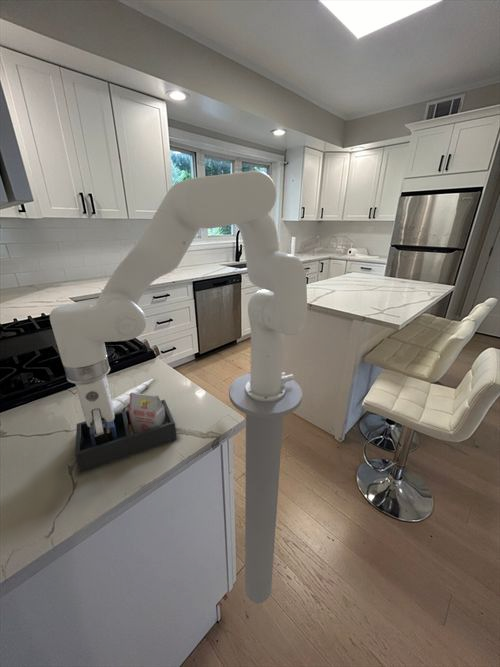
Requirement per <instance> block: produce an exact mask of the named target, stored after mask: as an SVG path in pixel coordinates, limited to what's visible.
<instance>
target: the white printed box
mask: <svg viewBox="0 0 500 667" xmlns="http://www.w3.org/2000/svg"><path fill="white" fill-rule="evenodd" d="M128 409H129V417H130V422H131V428H132V433H138V432H141V431H144V430H148V429H151V428H154V427H157V426H160V425H163V424H166V417H165V409H164V405H163V404H162V402H161V399H160V397H159V395H153V394H145V393H140V394H139V393H132V392H131V393H130V404H129V405H128Z"/></svg>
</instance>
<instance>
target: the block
mask: <svg viewBox="0 0 500 667" xmlns="http://www.w3.org/2000/svg"><path fill="white" fill-rule="evenodd" d="M102 419H104V418H102ZM108 425H109V429H110V430H111V431H112V435H113V440H116V439H117V434H116V428H115V424H114V420H113V421H111V422H108ZM103 427H105V428H106V426H105V423H104V424H103ZM90 436H91V440H92V444H93V447H94V446H97V445H96V442H95V438H94V431H93V426H92V427H90Z"/></svg>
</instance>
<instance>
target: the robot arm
mask: <svg viewBox="0 0 500 667" xmlns="http://www.w3.org/2000/svg"><path fill="white" fill-rule="evenodd" d="M276 201H277V186H276V183H274V180H273V179H272V178H271V176H270V175H269V174H267V173H266V172H264V171H262V170H257V169H253V170H246V171H239V172H233V173H226V174H225V173H224V174H214V175H204V176H203V175H202V176H196V177H192V178H188V179H184V180H180V181H178V182H176V183H175V184H174V185H172V186H171V187H170V189H169V190H168V191H167V193H166V194H165V196H164V198H163V199H162V201H161V203H160V204H159V206H158V208H157V209H156V211H155V213H154V214H153V216H152V218H151V220H150V221H149V223H148V225H147V226H146V228H145V230H144V231H143V232H142V234H141V236H140V238H139V239H138V241H137V243H135V245H134V247H132V248H131V249H130V251H129V252H128V254H126V256H125V257H124V259H123V260H121V262H120V263H119V265H118V266H117V267H116V268H115V270H114V271H113V273H112V274H111V276H110V277H109V279H108V280H107V282H106V284H105V286H104V287H103V289H102V291H101V292H100V295H99V296H98V298H97V300H96V303H95V306H94V305H93V304H91V303H88V302H87V303H86V302H73V303H72V302H71V303H66V304H62V305H59V306H57V307H55V308H53V309H52V310H51V311H50V313H49V321H50V325H51V328H52V332H53V336H54V339H55V344H56V346H57V350H58V353H59V356H60V361H61V363H62V367H63V370H64V372H65V373H64V374H65V377H66V380H67V382H69V383H71V384H75V387H76V391H77V396H78V399H79V403H80V406H81V410H82V413H83V417H84V421H85V420H86V423H87V426H88V427H92V426H93V431H94V438H95V442H96V445H100V444H103V443H107V442H110V441H113V435H112V431H111V430H110V429H109V425H108V422H111V421H113V420H114V419H115V416H114V408H113V401H112V400H113V397H112V394H111V388H110V384H109V380H108V376H107V375H108V374H109V373H110V371H111V366H110V362H109V358H108V353H107V348H106V343H111V342H127V341H130V340H134V339H136V338H138V337H139V336H141V335H142V334H143V333H144V331H145V329H146V327H147V317H146V314H145V312H144V311H143V310H142V308H140V307H139V305H138V303H139V301H140V300H141V298H142V297H143V295H144V293H145V292H146V291H147V289H149V287H150V286H151V285H152V284H153V283H154V282H155V281H157V279H159V278H161V277H163V276H165V275H168V274H170V273H172V272H173V271H174V270H176V269H177V268H178V267H179V265H180V263H181V262H182V260H183V258H184V256H185V255H186V253H187V251H188V250H189V248H190V246H191V245H192V243H193V241H194V239H195V238H196V236H197V235H198V233H199V231H200V230H201V229H218V228H223V227H227V226H228V227H229V226H232V225H235V226H236V227H237V229H238V230H239V232H240V236H241V237H242V243H243V250H244V257H245V264H246V270H247V278H248V279H249V282H250V283H251V284H252V285H253V286H255V287H257V288H260V289H261V290H258V291H255V292H254V293H253V294H252V295H251V297H250V298H249V301H248V303H247V315H248V321H249V327H250V381H249V382H247V384H246V386H245V391H246V394H247V395H248V396H249V397H250V398H252V399H254V400H257V401H261V402H273V401H277V400H279V399H281V398H282V397H283V396H284V395H285V392H286V387H285V385H284V384H285V383H286V382H287V381H291V380H294V381H295V376H294V374H293V373H290V374H287V373H286V372H285V371H284V372H283V360H284V359H283V358H284V346H285V345H284V344H285V338H284V336H295V335H297V334H299V333H300V332H301V331H302V330H303V329H304V327H305V325H306V323H307V319H308V288H307V287H308V286H307V284H308V283H307V272H306V268H305V265H304V264H303V262H302V260H301V259H300V258H299V257H297V256H296V255H295V254H292V253H287V252H282V251H281V250H280V244H279V238H278V231H277V226H276V222H275V220H274V218H273V214H272V213H271V211H272V210H273V209H274V206H275V204H276ZM102 418H104V419H102ZM104 423H105V426H106V428H105V427H103V424H104Z"/></svg>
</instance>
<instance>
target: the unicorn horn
mask: <svg viewBox="0 0 500 667" xmlns="http://www.w3.org/2000/svg"><path fill="white" fill-rule="evenodd" d="M153 381H154V378H151V379H149V380H147V381H144V382H142V383H140V384H139V385H137V386H134V387H133V388H131V389H129V390H127V391H125V392H124V393H122V394H120V395H119V396H117V397H114V398H112V401H113V408H114V413H117V412H121V411H124V409H126V408H127V407H129V404H130V393H131V392H132V393H139V394H142V392H144V391H145V389H147V387H148V386H150V384H151V383H152V382H153ZM85 421H86V420H85V419H84V422H85Z"/></svg>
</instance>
